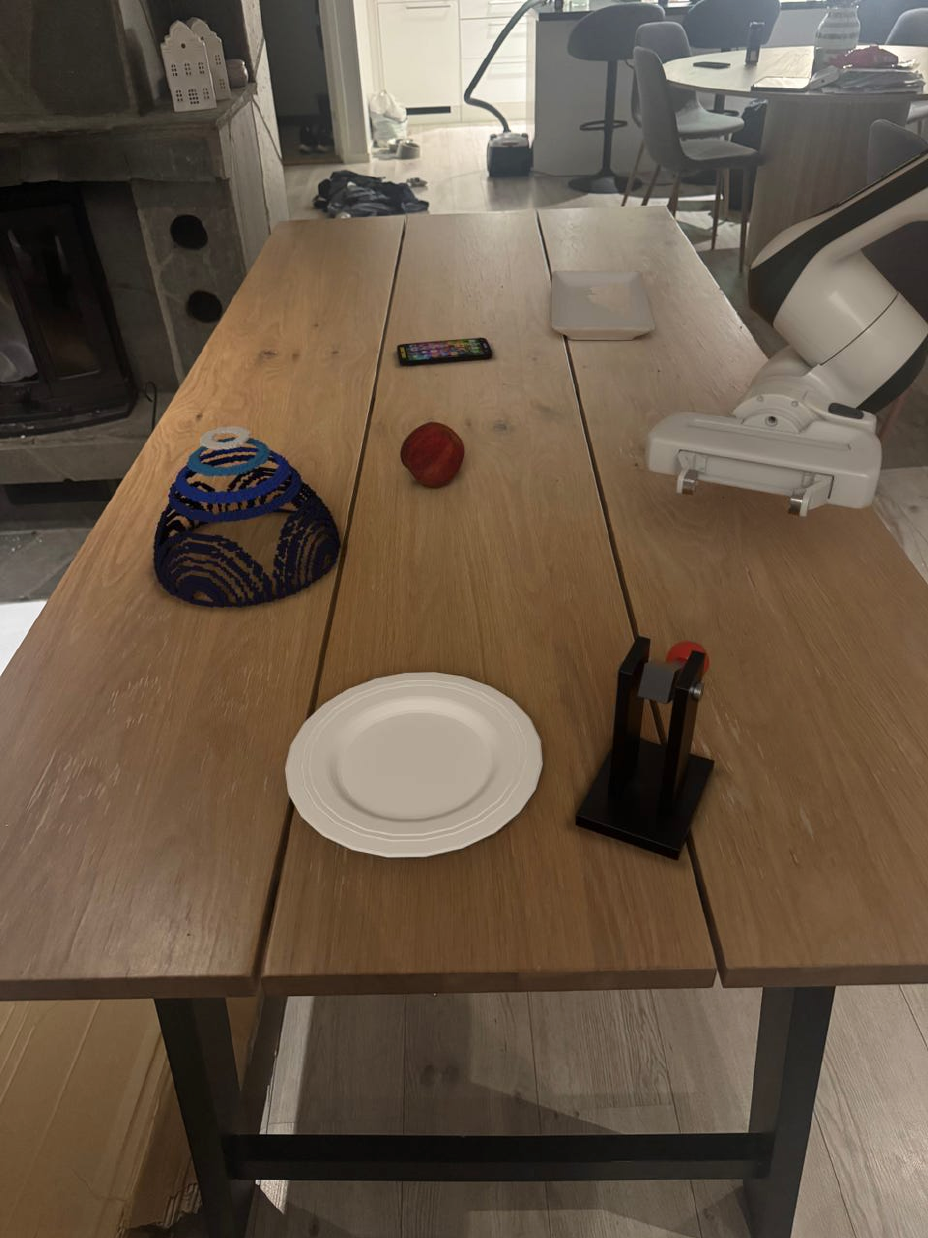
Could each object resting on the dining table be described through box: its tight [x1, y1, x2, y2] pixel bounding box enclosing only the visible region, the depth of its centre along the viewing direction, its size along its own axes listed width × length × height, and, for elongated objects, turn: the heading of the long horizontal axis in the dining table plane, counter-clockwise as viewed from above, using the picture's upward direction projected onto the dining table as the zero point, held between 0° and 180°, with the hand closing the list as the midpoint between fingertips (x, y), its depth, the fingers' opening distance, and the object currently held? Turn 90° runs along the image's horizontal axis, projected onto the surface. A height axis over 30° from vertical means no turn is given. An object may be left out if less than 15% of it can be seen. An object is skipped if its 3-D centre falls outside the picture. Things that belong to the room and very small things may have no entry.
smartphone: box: [396, 337, 493, 366], centre depth 150 cm, size 8×1×15 cm
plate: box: [284, 671, 544, 860], centre depth 76 cm, size 21×21×2 cm
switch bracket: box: [575, 635, 716, 862], centre depth 69 cm, size 10×8×14 cm
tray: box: [550, 270, 656, 341], centre depth 162 cm, size 17×32×4 cm, turn 175°
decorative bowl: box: [152, 425, 342, 609], centre depth 99 cm, size 20×20×14 cm
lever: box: [637, 640, 710, 705], centre depth 70 cm, size 13×3×3 cm, turn 153°
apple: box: [399, 421, 466, 488], centre depth 113 cm, size 7×8×8 cm
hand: (740, 497), depth 78 cm, fingers open, 8 cm apart
